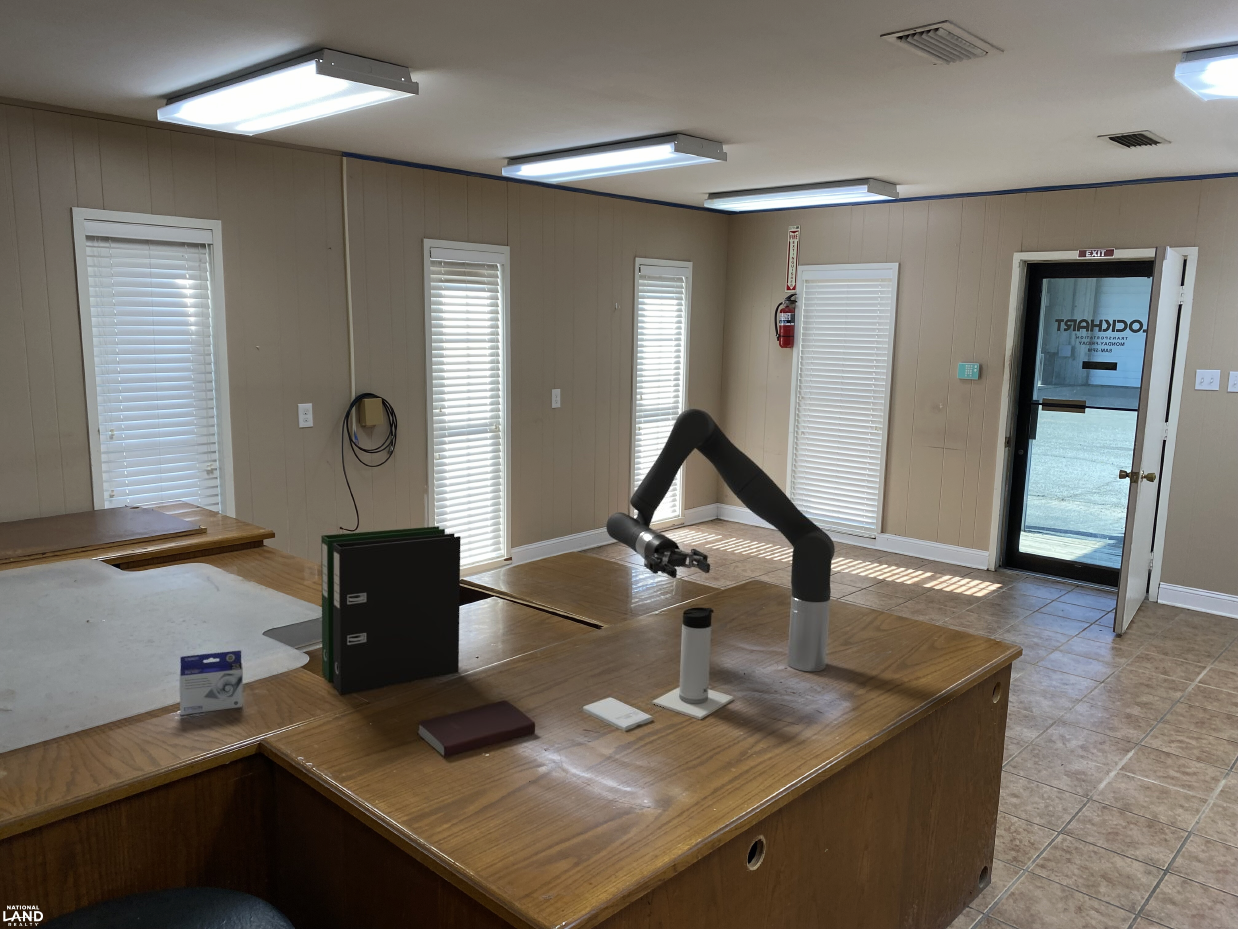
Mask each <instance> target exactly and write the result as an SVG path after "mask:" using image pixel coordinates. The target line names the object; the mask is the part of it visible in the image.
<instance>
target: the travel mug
mask: <svg viewBox="0 0 1238 929" xmlns="http://www.w3.org/2000/svg"><path fill="white" fill-rule="evenodd" d="M714 612H715V611H714V609H713V608H712V607H702V606H701V607H699V606H697V607H696V606H695V607H691V608H687V609H685V610H684V611H683V613H682V623H681V624H682V625H681V626H682V627H681V643H680V644H681V648H680V649H681V650H680V669H679V673H680V675H679V687H680V689H679V690H680V691H679V698H680V699H681V700H682V701H684V702H686V703H690V704H701V703H704V702H706V701H707V700H708V689H710V688H709V687H710V686H709V685H710V684H709V683H710V663H711V643H712V640H711V639H712V616H713V615H712V614H714Z"/></svg>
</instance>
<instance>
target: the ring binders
mask: <svg viewBox="0 0 1238 929" xmlns="http://www.w3.org/2000/svg"><path fill="white" fill-rule="evenodd" d="M461 537H462V536H460V535H459V536H456V535H455V533H446V529H445V528H440V526H438V525H437V526H435V525H434V526H426V527H425V526H423V527H409V528H399V529H387V530H386V529H385V530H375V531H374V530H373V531H359V532H348V533H346V532H345V533H336V534H325V535H324V534H322V535H321V537H320V538H321V543H320V545H321V548H320V549H321V550H320V551H321V552H320V553H321V663H322V664H321V671H322V672H321V675H322V676H323V677H324V678H325V679H326V681H327V682H328V683H330V682H333V689H334V691H336V693H337V694H338V695H339V696H340V697H342V696H348V695H353V694H358V693H362V692H368V691H374V690H377V689H382V688H388V687H394V686H397V685H402V684H408V683H413V682H417V681H422V680H428V679H432V678H433V679H434V678H439V677H441V676H446V675H448V676H449V675H453V674H457V673H458V674H459V670H460V669H459V668H460V667H459V665H460V664H459V662H460V661H459V660H460V659H459V658H460V604H461V603H460V599H461V598H460V597H461V594H460V592H461V590H460V589H461V540H462V538H461Z"/></svg>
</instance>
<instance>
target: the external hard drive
mask: <svg viewBox="0 0 1238 929" xmlns="http://www.w3.org/2000/svg"><path fill="white" fill-rule="evenodd" d="M582 712H583V713H585V714H588V715H590V716H592V717H594V718H596V719H598V720H600V721H602V722H604V723H607V724H609V725H610V726H612V727H615V728H616V729H619V730H621V731H623V732H626V731H629V730H631V729H634V728H637V727H638V726H639V725H640V726H641V725H644V724H646V723H649V722H652V721H654V720H653V719H654V718H653V716H651V715H650V714H647V713H645V712H643V711H641V710H639V709H636V708H634V707H633V706H630V705H628V704H626V703H624V702H622V701H619V700H618V699H615V698H613V697H606V698H603V699H601V700H598V701H595V702H593V703H590V704H587V705H584V706H583V707H582Z"/></svg>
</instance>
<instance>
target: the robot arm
mask: <svg viewBox="0 0 1238 929" xmlns="http://www.w3.org/2000/svg"><path fill="white" fill-rule="evenodd" d="M695 449H696V450H697V451H698V452H699V453H700V454H701V455H702V456H704V457H705V458H706V459H707V460H708V461H709V462H710V463H711V464H712V465H713V467H714V468H715V470H716V471H717V473H718V474H719V476H720V477H721V479H722V480H723V482H724V483H725V484H726V486H727V487H728V488H729V490H730V492H732V493H733V495H734V496H735V497H736V498H737V499H738V500H739V501H740V502H741V503H742V504H743V505H744V506H745V507H746V508H747V509H748V510H749V511H751V512H752V513H753V514H754V515H756V516H757V517H759V518H760V519H761V520H763V521H764V522H766V523H768V524H769V525H771V526H773V527H774V528H775V529H777V531H778V532H779V533H781V534H782V535H783V536H784V538H785V539H786V540H787V541H788V543H790V545H791V546H792V548H793V549H792V556H791V574H790V575H791V576H790V578H791V579H790V586H791V596H790V597H791V598H790V613H789V631H788V645H787V661H786V663H787V665H788V666H789V667H790V668H793V669H795V670H799V671H804V672H820V671H823V670H824V669H826V662H827V650H828V649H827V648H828V639H829V638H828V636H829V635H828V634H829V622H830V621H829V620H830V607H831V593H832V590H831V575H832V574H831V573H832V560H833V558H834V555H835V552H836V548H835V544H834V541H833V539H832V538H831V537H830V536H829V534H828V533H827V532H825V531H824V530H823V529H822V528H820V527H819V526H818V525H817V524H816V523H814V522H813V520H811V519H809V517H808V516H806V515H805V514H804V513H803V512H801V510H799V509H798V507H797V505H795V503H793V501H792V500H791V499H790V498H789V496H787V494H786V493H785V492H784V491H783V490H782V489H781V488H780V487H779V485H777V483H776V482H775V481H774V480H773V479H772V478H771V477H770V476H769V475H768V474H767V473H766V472H765V471H764V470H763V469H762V468H761V467H760V466H759V465H758V464H757V463H756V462H754V461H753V460H752V459H751V458H750V457H749V456H748V455H747V454H745V453H744V452H743V451H742V450H740V448H738V447H737V446H736V445H735V444H734V443H732V441H731V440H730V439H729V438H728V437H727V435H726V434H725V433H724V431H723V430H722V429H721V428H720V427H719V425H718V424H717V423H716V421H715V420H714V418H712V416H711V415H710V414H709V413H708V412H706V411H704V410H702V409H698V408H688V409H686V410H683V411H682V412H681V413H680V414H678V416H677V418H676V420H675V422H674V424H673V426H672V428H671V431H670V433H669V436H668V438H667V439H666V442H665V444H664V446H663V448H662V450H661V451H660V453H659V455H658V457H657V458H656V460H655V461H654V463H653V464H652V466H651V467H650V469H649V470H648V472H647V473H646V475H645V476H644V478H643V479H642V480H641V482H640V484H639V485H638V487H637V488H636V490H635V491H634V493H633V494H632V496H631V498H630V499H629V500H630V501H629V502H630V505H631V507H632V508H633V509H634V510H636V511H637V515H636V517H633V516H631V515H629V514H627V513H624V512H615V513H612V514H611V515H610V516H609V517H608V519H607V522H606V524H605V525H606V526H605V527H606V528H605V529H606V532H607V534H608V536H609V537H610V538H611V539H613V540H615V541H617V542H618V543H621V544H623V545H624V546H626V547H628V548H630V549H631V550H632V551H634V552H635V553H637V555H639V556H640V557H641V558H642V559H643V561H644V562H643V567H645V568H646V569H647V570H649V571H650V572H651V573H653V574H654V575H655V574H657V575H658V573H659V572H660V573H661V574H662V575H663V574H666V575H667V576H669V577H671V578H672V579H676V578H677V575H678V574H677V573H678V569H677V568H684V569H685V568H686V569H692V568H695V569H698V570H700V571H702V572H703V573H705V574H710V570H711V564H710V563H709V562H708V561H709V560H708V558H709V556H708V555H707V554H706V553H704V552H702V551H700V550H698V549H696V548H690V549H691V550H690V552H688V551H684V550H682V549H681V548H680V546H679V545H678V543H677V541H675V540H673V539H672V538H670V537H668V536H667V535H665V534H664V533H661V532H660V531H656V530H655V529H653V528H652V527H650V526H651V522H652V520H653V518H654V515H655V512H656V511H657V509H658V508H659V506H660V504H661V503H662V502H663V500H664V498H665V497H666V496H667V494H668V492H669V491H670V489H671V486H672V485H673V483H674V481H675V479H676V476H677V475H678V472H679V470H680V469H681V467H682V466H683V464H684V462H685V461H686V460H687V458H688V457H689V456H690V455H691V453H692V452H693V451H694V450H695ZM687 561H688V563H687Z"/></svg>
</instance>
